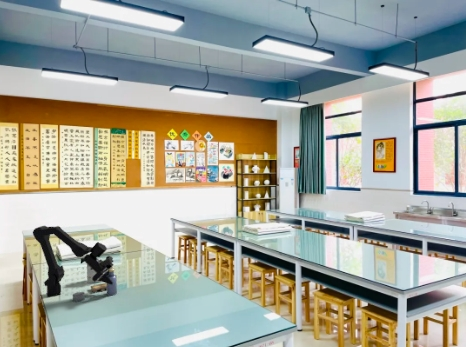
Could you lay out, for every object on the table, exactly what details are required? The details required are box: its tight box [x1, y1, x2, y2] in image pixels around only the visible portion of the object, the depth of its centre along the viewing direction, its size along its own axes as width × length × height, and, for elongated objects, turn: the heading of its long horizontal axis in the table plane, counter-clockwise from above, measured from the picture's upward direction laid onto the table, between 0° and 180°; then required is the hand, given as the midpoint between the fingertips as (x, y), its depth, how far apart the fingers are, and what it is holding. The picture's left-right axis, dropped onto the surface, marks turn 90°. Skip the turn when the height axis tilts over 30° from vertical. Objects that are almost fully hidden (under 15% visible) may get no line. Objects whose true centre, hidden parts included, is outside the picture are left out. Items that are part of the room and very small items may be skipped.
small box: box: [86, 258, 103, 283], centre depth 220 cm, size 8×6×13 cm
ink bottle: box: [106, 267, 118, 296], centre depth 197 cm, size 5×5×14 cm
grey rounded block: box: [72, 291, 86, 303], centre depth 189 cm, size 6×6×3 cm
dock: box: [90, 282, 107, 294], centre depth 204 cm, size 10×7×2 cm
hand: (114, 282), depth 197 cm, fingers closed on ink bottle, 5 cm apart
